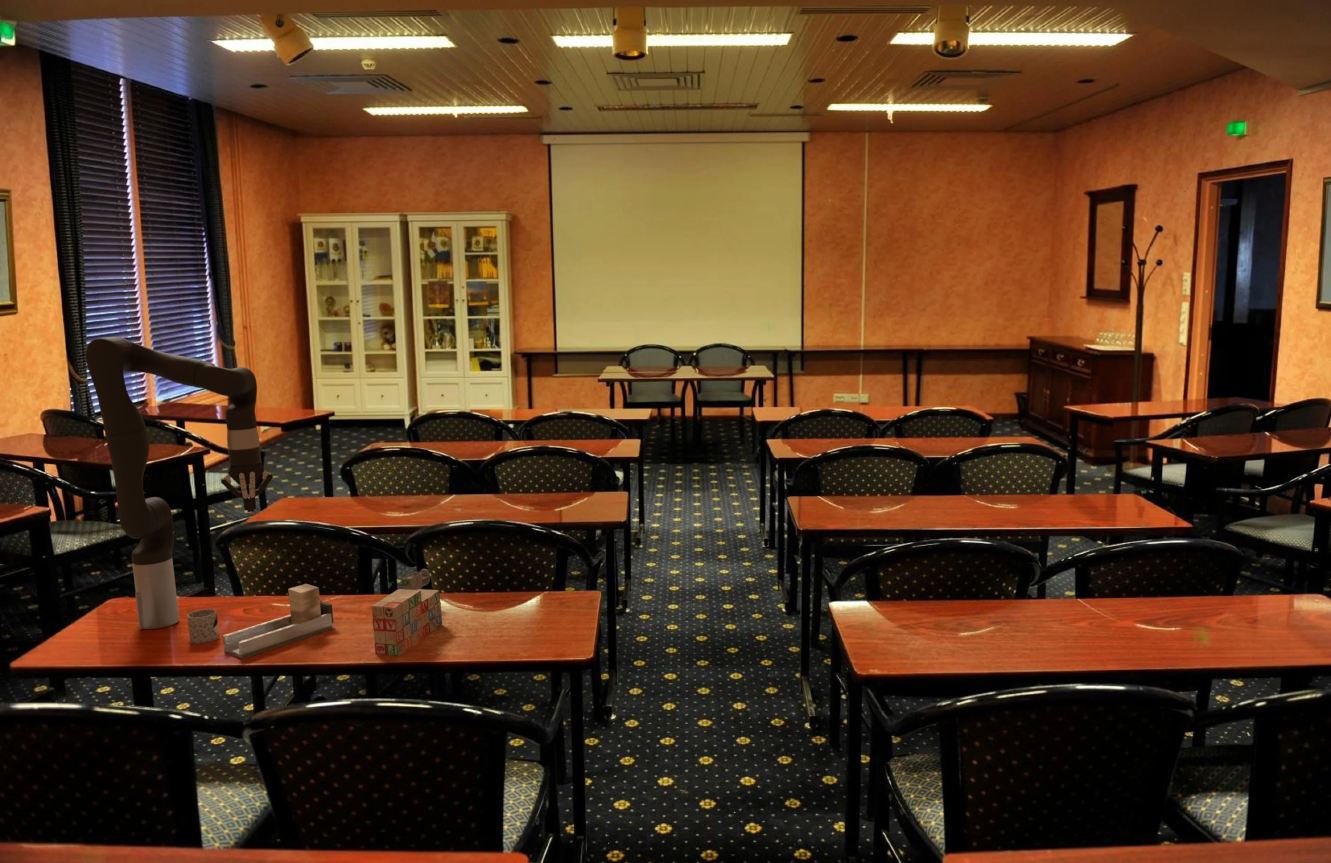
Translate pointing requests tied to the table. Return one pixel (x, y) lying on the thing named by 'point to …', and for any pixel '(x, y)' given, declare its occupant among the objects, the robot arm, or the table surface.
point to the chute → (276, 633)
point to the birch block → (304, 603)
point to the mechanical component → (416, 580)
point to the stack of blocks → (405, 619)
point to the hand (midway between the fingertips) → (250, 511)
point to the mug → (203, 626)
